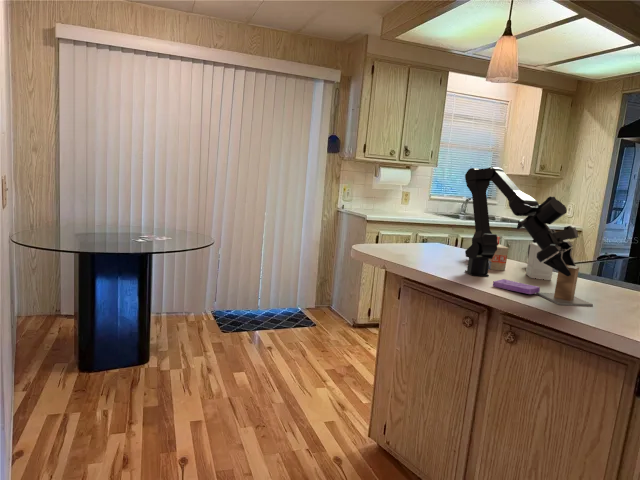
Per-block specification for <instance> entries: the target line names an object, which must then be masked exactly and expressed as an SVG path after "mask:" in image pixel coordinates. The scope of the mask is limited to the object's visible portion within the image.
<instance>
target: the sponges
mask: <svg viewBox="0 0 640 480" xmlns="http://www.w3.org/2000/svg"><path fill="white" fill-rule="evenodd" d="M492 287H495V288H498V289H504V290H508V291H513V292H517V293H522V294H528V295H533V294H536V293H538V292H540V293H541V290H540V289H541V287H540V286H536V285H531V284H527V283H522V282H518V281H515V280H514V281H513V280H511V279H510V280H508V279H505V278H501V279H498V280H494V281H493V282H492Z"/></svg>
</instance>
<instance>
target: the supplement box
mask: <svg viewBox="0 0 640 480" xmlns="http://www.w3.org/2000/svg"><path fill="white" fill-rule="evenodd" d="M529 244H530V250H529V257H528V256H527V266H526V270H525V271H526V272H525V275H527V276H528V277H529V278H530V279H535V278H536V279H537V280H543V279H544V280H545V281H551V280H552V278H553V277H552V276H553V271H554V268H552V267H550V266H548V265H546V264H544V263H543V262H545V261H546V260H547V259H545V260H544V261H543V262H540V261H539V260H538V259H537V253H538V252H540V251H541V248H540V247H539V246H538V245H537V243H534V242H530V243H529ZM536 279H535V280H536Z"/></svg>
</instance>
